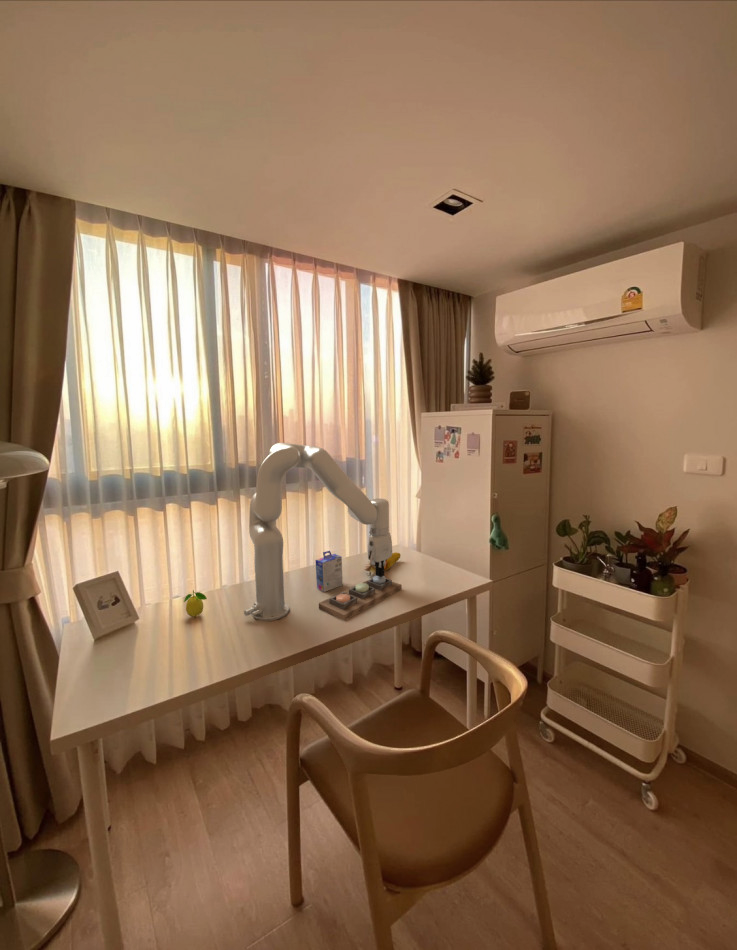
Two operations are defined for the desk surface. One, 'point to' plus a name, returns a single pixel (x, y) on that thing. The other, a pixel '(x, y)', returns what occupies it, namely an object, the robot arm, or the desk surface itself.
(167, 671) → the desk surface
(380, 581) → the button slate
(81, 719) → the desk surface
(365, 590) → the button sage
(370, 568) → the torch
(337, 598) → the button terracotta
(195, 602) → the lemon
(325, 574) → the ink cartridge box
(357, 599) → the button panel
